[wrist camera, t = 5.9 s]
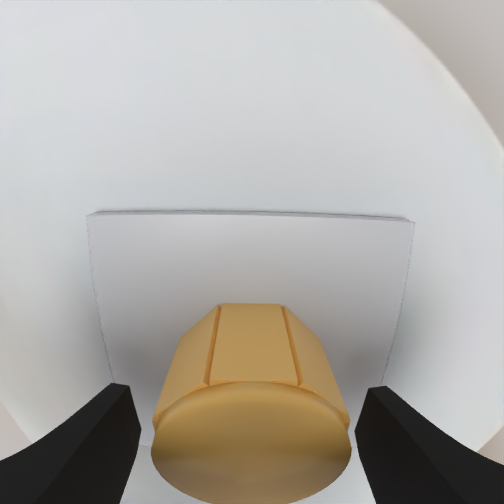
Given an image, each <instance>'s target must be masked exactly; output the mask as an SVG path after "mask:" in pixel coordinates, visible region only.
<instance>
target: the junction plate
mask: <svg viewBox="0 0 504 504" xmlns="http://www.w3.org/2000/svg"><path fill="white" fill-rule="evenodd" d="M86 220H87V232H88V243H89V253H90V261H91V269H92V276H93V283H94V290H95V296H96V302H97V308H98V313H99V319H100V324H101V329H102V333H103V338H104V343H105V347H106V351H107V356H108V360H109V364H110V368H111V372H112V375H113V379H114V383H117V384H123V385H129V386H130V389H131V393H132V397H133V401H134V405H135V408H136V412H137V415H138V419H139V422H140V425H141V428H142V430H141V435H140V440H139V445H142V446H148V447H151V446H152V443H153V439H154V436H155V431H154V427H153V423H152V418H153V415H154V412H155V409H156V406H157V403H158V400H159V397H160V394H161V391H162V388H163V386H164V383H165V380H166V377H167V374H168V371H169V368H170V365H171V363H172V360H173V357H174V354H175V351H176V349H177V346H178V343H179V341H180V338H181V337H182V336H183V335H184V334H185V333H186V332H187V331H188V330H189V329H191V328H192V327H193V326H194V325H195V324H196V323H197V322H199V321H200V320H201V319H202V318H203V317H204V316H205V315H206V314H208V313H209V312H210V311H211V310H212V309H213V308H214V307H215V306H216V305H219V306H220V307H222V303H259V304H281V308H282V307H283V306H284V305H285V306H286V307H287V308H288V309H289V310H290V311H291V312H292V313H293V314H294V315H295V316H296V317H297V318H298V319H299V320H300V321H301V322H302V323H303V324H304V325H306V326H307V327H308V328H309V329H310V330H311V331H312V332H313V333H314V334H315V335H316V336H317V337H318V338H319V339H320V341H321V344H322V346H323V349H324V351H325V354H326V357H327V359H328V362H329V364H330V367H331V369H332V372H333V375H334V377H335V380H336V383H337V385H338V388H339V390H340V393H341V396H342V398H343V401H344V404H345V406H346V409H347V412H348V414H349V417H350V421H351V422H350V425H349V428H348V431H347V433H348V436H349V439H350V442H351V448H352V447H357V443H356V438H355V433H354V430H355V427H356V424H357V422H358V419H359V416H360V413H361V410H362V407H363V403H364V400H365V397H366V394H367V391H368V388H372V387H380V385H381V382H382V378H383V375H384V372H385V368H386V365H387V361H388V358H389V354H390V351H391V347H392V343H393V339H394V335H395V331H396V327H397V323H398V318H399V314H400V309H401V305H402V300H403V295H404V290H405V285H406V279H407V274H408V268H409V262H410V255H411V249H412V241H413V234H414V225H415V222H412V221H409V220H407V219H404V218H390V217H374V216H356V215H336V214H313V213H285V212H246V211H125V212H96V213H93V214H90V215H87V216H86Z"/></svg>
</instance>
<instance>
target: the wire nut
mask: <svg viewBox="0 0 504 504" xmlns="http://www.w3.org/2000/svg"><path fill="white" fill-rule="evenodd" d="M350 422H351V421H350V417H349V414H348V412H347V409H346V406H345V404H344V401H343V398H342V396H341V393H340V390H339V388H338V385H337V383H336V380H335V377H334V375H333V372H332V369H331V367H330V364H329V362H328V359H327V357H326V354H325V351H324V349H323V346H322V344H321V341H320V339H319V338H318V337H317V336H316V335H315V334H314V333H313V332H312V331H311V330H310V329H309V328H308V327H307V326H306V325H304V324H303V323H302V322H301V321H300V320H299V319H298V318H297V317H296V316H295V315H294V314H293V313H292V312H291V311H290V310H289V309H288V308H287V307H286V306H285V305H284V306H283V307H282V308H281V304H259V303H222V307H220V306H219V305H216V306H215V307H214V308H213V309H212V310H211V311H210V312H209V313H208V314H206V315H205V316H204V317H203V318H202V319H201V320H200V321H199V322H197V323H196V324H195V325H194V326H193V327H192V328H191V329H189V330H188V331H187V332H186V333H185V334H184V335H183V336H182V337H181V338H180V341H179V343H178V346H177V349H176V351H175V354H174V357H173V360H172V363H171V365H170V368H169V371H168V374H167V377H166V380H165V383H164V386H163V388H162V391H161V394H160V397H159V400H158V403H157V406H156V409H155V412H154V415H153V418H152V423H153V427H154V431H155V436H154V439H153V443H152V446H151V456H152V461H153V463H154V465H155V467H156V469H157V471H158V472H159V473H160V475H161V476H162V477H163V478H164V479H165V480H166V481H167V482H168V483H170V484H171V485H172V486H174V487H175V488H177V489H178V490H180V491H181V492H183V493H185V494H187V495H189V496H191V497H194V498H196V499H199V500H202V501H205V502H208V503H212V504H288V503H292V502H295V501H298V500H301V499H304V498H307V497H309V496H311V495H313V494H315V493H317V492H319V491H321V490H322V489H324V488H326V487H327V486H329V485H330V484H331V483H332V482H334V481H335V480H336V479H337V478H338V477H339V476H340V475H341V474H342V472H343V471H344V470H345V468H346V467H347V465H348V463H349V460H350V457H351V450H352V448H351V442H350V439H349V436H348V433H347V431H348V428H349V425H350Z"/></svg>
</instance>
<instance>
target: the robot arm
mask: <svg viewBox="0 0 504 504" xmlns="http://www.w3.org/2000/svg"><path fill="white" fill-rule="evenodd" d="M141 430H142V428H141V425H140V422H139V419H138V415H137V412H136V408H135V405H134V401H133V397H132V393H131V389H130V386H129V385H123V384H117V383H111V384H109V385H108V386H107V387H106V388H105V389H103V390H102V391H101V392H100V393H99V394H97V395H96V396H95V397H94V398H93V399H92V400H90V401H89V402H88V403H87V404H86V405H85V406H83V407H82V408H81V409H80V410H78V411H77V412H76V413H75V414H74V415H72V416H71V417H70V418H69V419H67V420H66V421H65V422H64V423H62V424H61V425H59V426H58V427H57V428H55V429H54V430H52V431H51V432H50V433H48V434H47V435H46V436H44V437H43V438H41V439H40V440H38V441H37V442H35V443H33V444H32V445H30V446H28V447H27V448H25V449H23V450H21V451H20V452H18V453H16V454H14V455H12V456H10V457H8V458H5V459H3V460H1V461H0V504H119V503H120V501H121V498H122V495H123V492H124V489H125V486H126V483H127V481H128V478H129V475H130V472H131V469H132V466H133V464H134V461H135V458H136V454H137V450H138V445H139V440H140V435H141ZM354 433H355V438H356V443H357V448H358V452H359V457H360V460H361V463H362V465H363V468H364V471H365V474H366V476H367V479H368V482H369V485H370V487H371V490H372V493H373V496H374V498H375V501H376V504H504V465H502V464H499V463H497V462H495V461H492V460H490V459H488V458H486V457H484V456H482V455H480V454H478V453H476V452H475V451H473V450H471V449H469V448H467V447H466V446H464V445H462V444H461V443H459V442H458V441H456V440H455V439H453V438H452V437H450V436H449V435H447V434H446V433H444V432H443V431H442V430H440V429H439V428H438V427H436V426H435V425H434V424H432V423H431V422H430V421H428V420H427V419H426V418H425V417H423V416H422V415H421V414H420V413H419V412H417V411H416V410H415V409H414V408H412V407H411V406H410V405H409V404H408V403H406V402H405V401H404V400H403V399H402V398H400V397H399V396H398V395H397V394H396V393H394V392H393V391H392V390H391V389H389V388H388V387H387V386H380V387H372V388H368V391H367V394H366V397H365V400H364V403H363V407H362V410H361V413H360V416H359V419H358V422H357V424H356V427H355V430H354Z"/></svg>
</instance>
